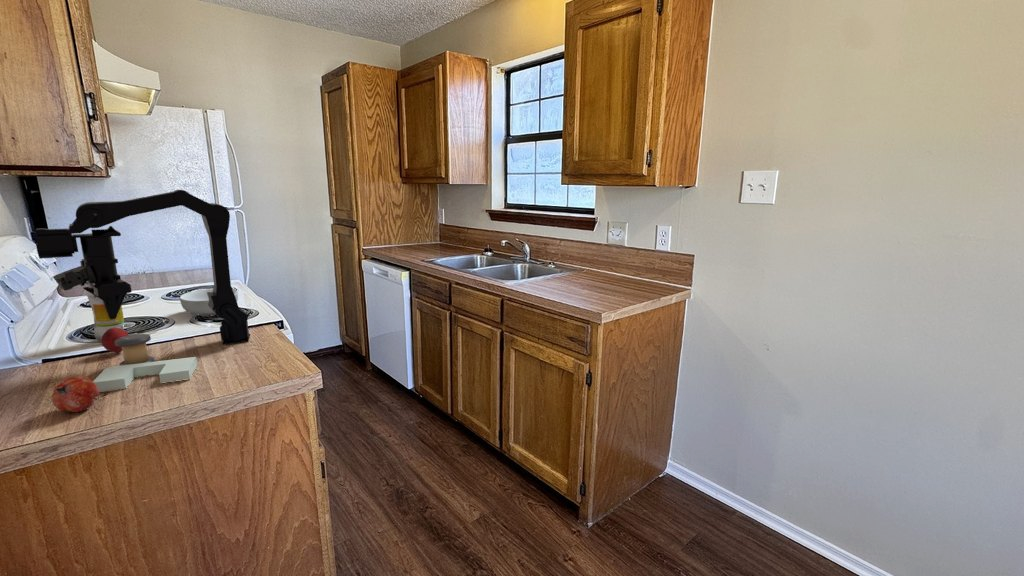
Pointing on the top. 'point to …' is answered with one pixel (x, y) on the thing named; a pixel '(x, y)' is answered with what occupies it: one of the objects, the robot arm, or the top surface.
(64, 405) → the pomegranate
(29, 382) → the top surface
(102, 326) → the supplement bottle
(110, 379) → the notched board
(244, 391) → the top surface
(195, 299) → the cereal bowl
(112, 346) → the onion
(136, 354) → the spool
